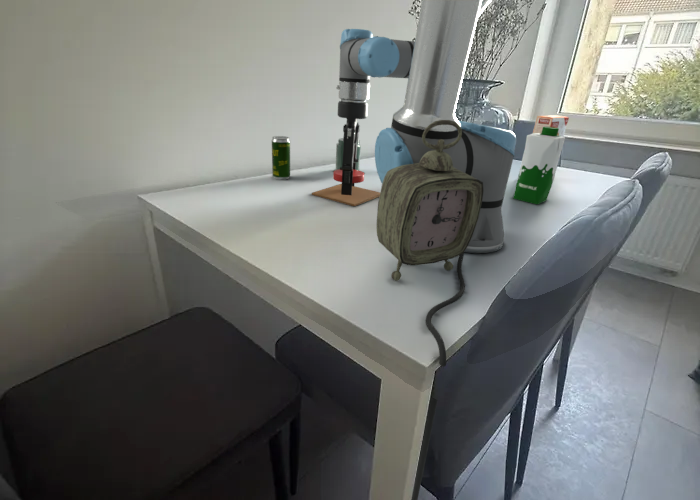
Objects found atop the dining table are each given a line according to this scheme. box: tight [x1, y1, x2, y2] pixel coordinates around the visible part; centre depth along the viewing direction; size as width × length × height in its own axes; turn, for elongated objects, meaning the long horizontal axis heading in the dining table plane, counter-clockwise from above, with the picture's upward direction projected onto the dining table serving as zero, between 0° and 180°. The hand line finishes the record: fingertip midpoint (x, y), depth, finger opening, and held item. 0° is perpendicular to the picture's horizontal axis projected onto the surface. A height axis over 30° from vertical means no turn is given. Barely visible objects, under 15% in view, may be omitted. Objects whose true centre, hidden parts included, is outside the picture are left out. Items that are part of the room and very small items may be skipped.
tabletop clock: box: [376, 120, 484, 282], centre depth 62 cm, size 14×9×25 cm, turn 115°
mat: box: [311, 183, 381, 207], centre depth 106 cm, size 14×14×1 cm
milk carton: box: [512, 127, 566, 205], centre depth 109 cm, size 9×9×20 cm
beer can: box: [271, 135, 291, 181], centre depth 117 cm, size 5×5×12 cm
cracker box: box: [532, 114, 570, 137], centre depth 137 cm, size 14×6×21 cm, turn 132°
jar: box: [334, 137, 362, 171], centre depth 129 cm, size 8×8×10 cm
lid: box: [332, 169, 365, 184], centre depth 104 cm, size 8×8×2 cm
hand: (348, 189), depth 106 cm, fingers closed on lid, 8 cm apart
